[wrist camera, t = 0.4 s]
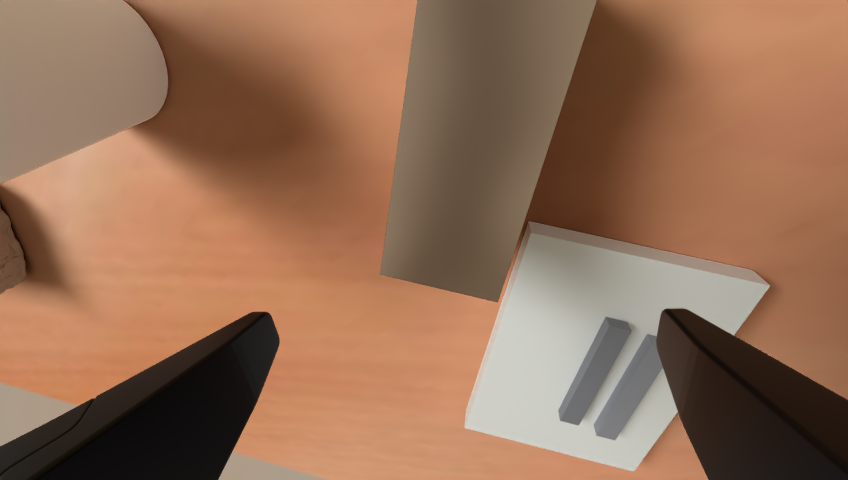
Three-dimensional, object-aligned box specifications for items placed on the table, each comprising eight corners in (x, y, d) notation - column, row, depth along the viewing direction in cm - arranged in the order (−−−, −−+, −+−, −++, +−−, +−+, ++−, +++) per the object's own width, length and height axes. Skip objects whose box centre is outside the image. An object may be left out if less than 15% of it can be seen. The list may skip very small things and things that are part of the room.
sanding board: (752, 270, 20) (770, 285, 19) (627, 451, 28) (633, 471, 27) (528, 220, 21) (530, 232, 20) (465, 410, 29) (464, 427, 27)
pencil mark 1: (627, 321, 21) (631, 331, 21) (576, 414, 25) (578, 425, 24) (605, 316, 21) (609, 326, 21) (558, 410, 25) (560, 420, 24)
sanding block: (570, -21, 16) (616, -59, 10) (496, 229, 22) (497, 302, 16) (453, -41, 16) (429, -91, 10) (412, 210, 22) (380, 274, 16)
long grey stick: (668, 339, 21) (674, 349, 21) (611, 429, 25) (615, 440, 24) (647, 333, 21) (652, 343, 21) (593, 424, 25) (596, 435, 24)
